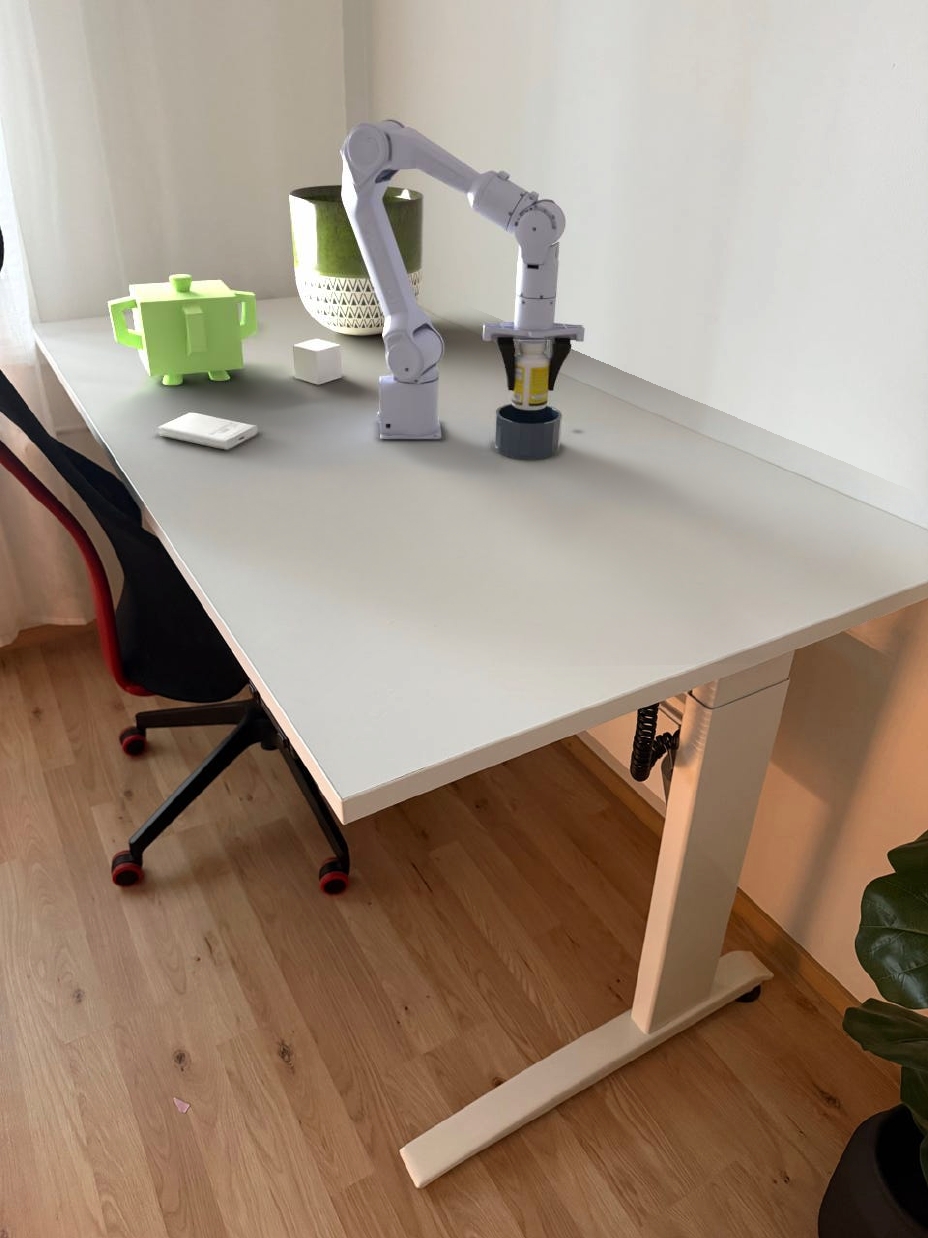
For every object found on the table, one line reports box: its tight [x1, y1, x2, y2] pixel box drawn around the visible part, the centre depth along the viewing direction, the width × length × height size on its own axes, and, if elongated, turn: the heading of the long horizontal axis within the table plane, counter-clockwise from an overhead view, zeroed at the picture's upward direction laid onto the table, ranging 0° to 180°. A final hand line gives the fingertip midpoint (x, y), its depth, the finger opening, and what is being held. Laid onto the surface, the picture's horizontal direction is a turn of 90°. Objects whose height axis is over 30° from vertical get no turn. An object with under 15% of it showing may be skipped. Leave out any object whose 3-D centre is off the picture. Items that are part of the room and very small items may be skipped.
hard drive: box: [158, 412, 258, 450], centre depth 146 cm, size 2×8×12 cm
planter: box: [288, 184, 425, 336], centre depth 195 cm, size 27×27×27 cm
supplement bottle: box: [511, 340, 550, 410], centre depth 140 cm, size 5×5×10 cm
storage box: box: [107, 273, 259, 386], centre depth 169 cm, size 25×23×17 cm
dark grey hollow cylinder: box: [493, 402, 563, 461], centre depth 145 cm, size 10×10×6 cm
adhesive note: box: [292, 338, 342, 385], centre depth 172 cm, size 6×6×6 cm
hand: (529, 388), depth 141 cm, fingers closed on supplement bottle, 5 cm apart
